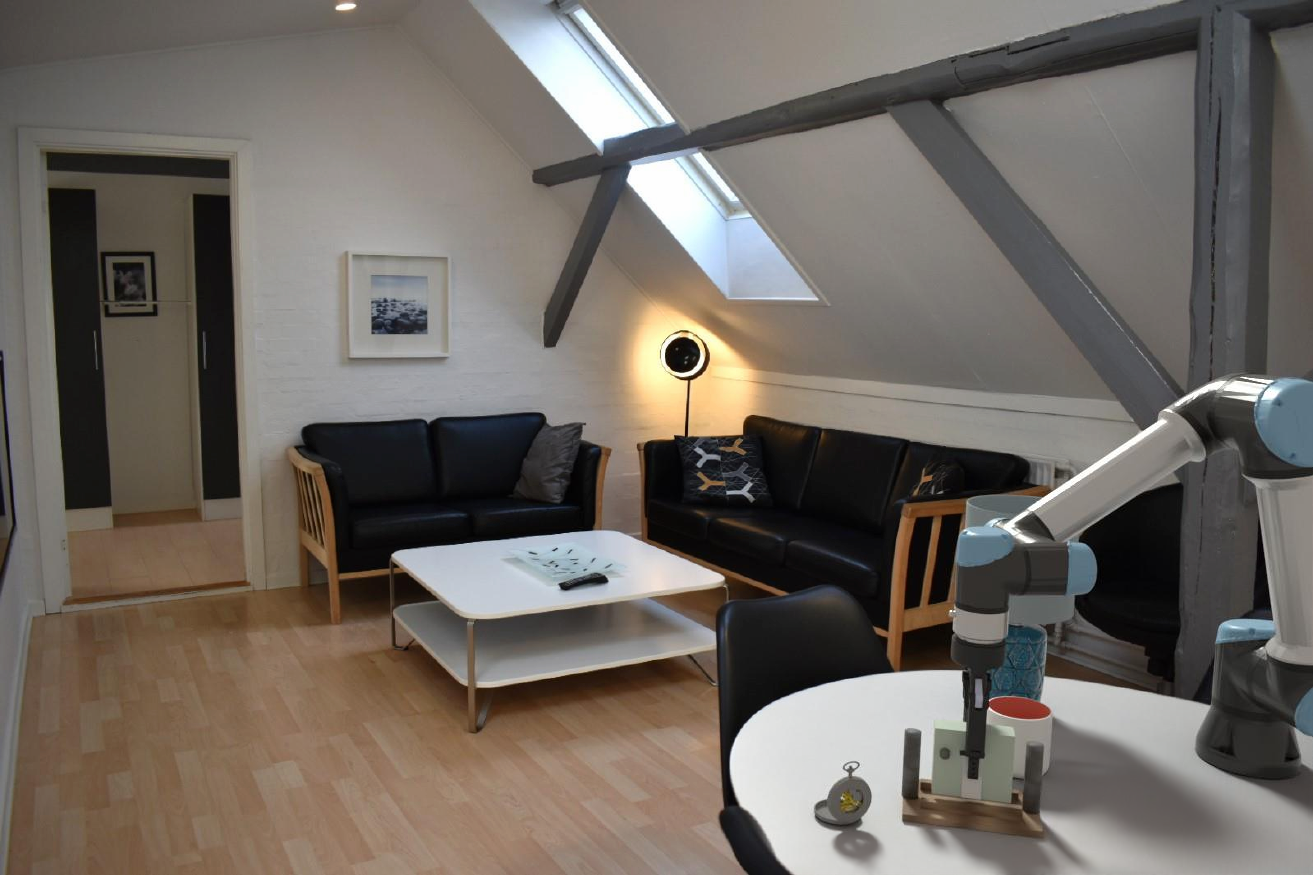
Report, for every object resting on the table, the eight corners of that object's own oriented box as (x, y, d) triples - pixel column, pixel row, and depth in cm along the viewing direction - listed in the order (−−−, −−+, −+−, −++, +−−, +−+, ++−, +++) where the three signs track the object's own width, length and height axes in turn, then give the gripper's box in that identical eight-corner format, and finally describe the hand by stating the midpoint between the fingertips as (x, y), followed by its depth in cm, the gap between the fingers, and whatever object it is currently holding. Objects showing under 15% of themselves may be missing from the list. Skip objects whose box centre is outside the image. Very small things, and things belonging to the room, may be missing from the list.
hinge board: (1034, 798, 159) (1039, 728, 158) (1043, 838, 148) (1048, 763, 146) (901, 783, 164) (905, 714, 162) (900, 820, 152) (904, 747, 151)
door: (1008, 791, 156) (1013, 726, 154) (1011, 805, 151) (1015, 739, 150) (931, 782, 158) (934, 718, 157) (931, 796, 154) (935, 730, 153)
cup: (1053, 784, 164) (1057, 722, 163) (985, 778, 166) (989, 716, 165) (1043, 757, 174) (1047, 698, 172) (979, 751, 176) (983, 693, 174)
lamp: (970, 727, 185) (982, 514, 180) (944, 686, 204) (955, 493, 199) (1082, 730, 184) (1097, 517, 179) (1046, 689, 204) (1059, 495, 198)
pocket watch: (828, 800, 158) (831, 736, 157) (879, 818, 153) (882, 752, 151) (799, 820, 152) (801, 754, 150) (851, 840, 146) (854, 771, 145)
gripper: (950, 616, 161) (942, 763, 164) (953, 651, 145) (944, 813, 148) (1002, 620, 159) (993, 769, 162) (1011, 657, 143) (1001, 820, 146)
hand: (970, 790), depth 155 cm, fingers closed on door, 3 cm apart
